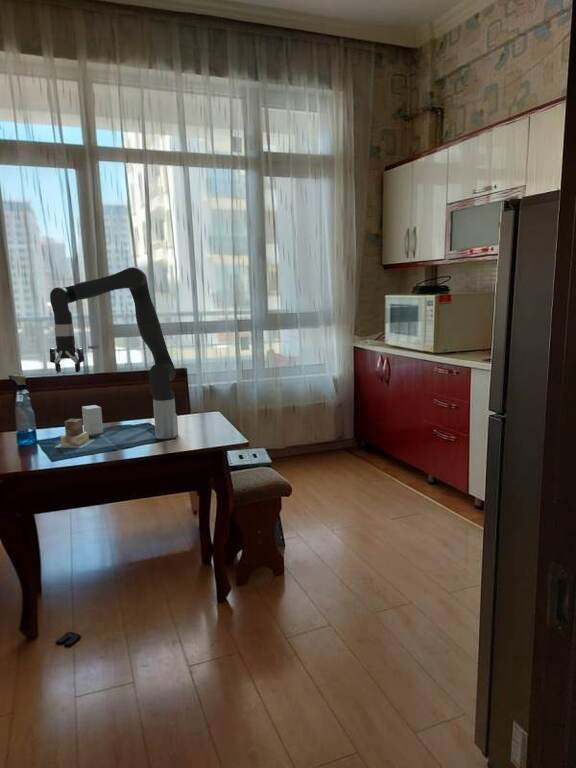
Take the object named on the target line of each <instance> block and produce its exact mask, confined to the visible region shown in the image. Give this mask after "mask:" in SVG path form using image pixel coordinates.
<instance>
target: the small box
mask: <svg viewBox="0 0 576 768" xmlns="http://www.w3.org/2000/svg"><path fill="white" fill-rule="evenodd" d="M81 412H82V413H81V414H82V425H83V432H88V434H89V436H92V435H99V434H102V433H104V425H103V413H102V407H101V406H98V405H96V404H93V405H92V404H91V405H84V406H81Z"/></svg>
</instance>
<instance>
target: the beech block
mask: <svg viewBox="0 0 576 768" xmlns="http://www.w3.org/2000/svg"><path fill="white" fill-rule="evenodd" d="M89 436H90V435H89V434H88V432H84V431H83V433H81V434H80V435H78V436H66V433H65V434H63V435H61V436H60V444H61V446H81V445H82V444H84V443H86V442H88V441H89V439H90V437H89Z"/></svg>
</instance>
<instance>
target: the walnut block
mask: <svg viewBox="0 0 576 768" xmlns="http://www.w3.org/2000/svg"><path fill="white" fill-rule="evenodd" d="M64 429H65V434H66V436H78V435H80V434H81V433H83V432H84V426H83V418H69V419H67V420H65V421H64Z"/></svg>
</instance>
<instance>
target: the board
mask: <svg viewBox="0 0 576 768" xmlns="http://www.w3.org/2000/svg"><path fill="white" fill-rule="evenodd" d="M94 441H96V439H92V438H91V439H90V438H89V441H88V442H86V443H84V444H82V445H81V446H61V443H59V444H58V445H56V446H55V448H69V449H70V448H71V449H72V448H75V449H76V448H77V449H78V448H84V447H85V446H87V445H89V444H91V443H93V442H94Z"/></svg>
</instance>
